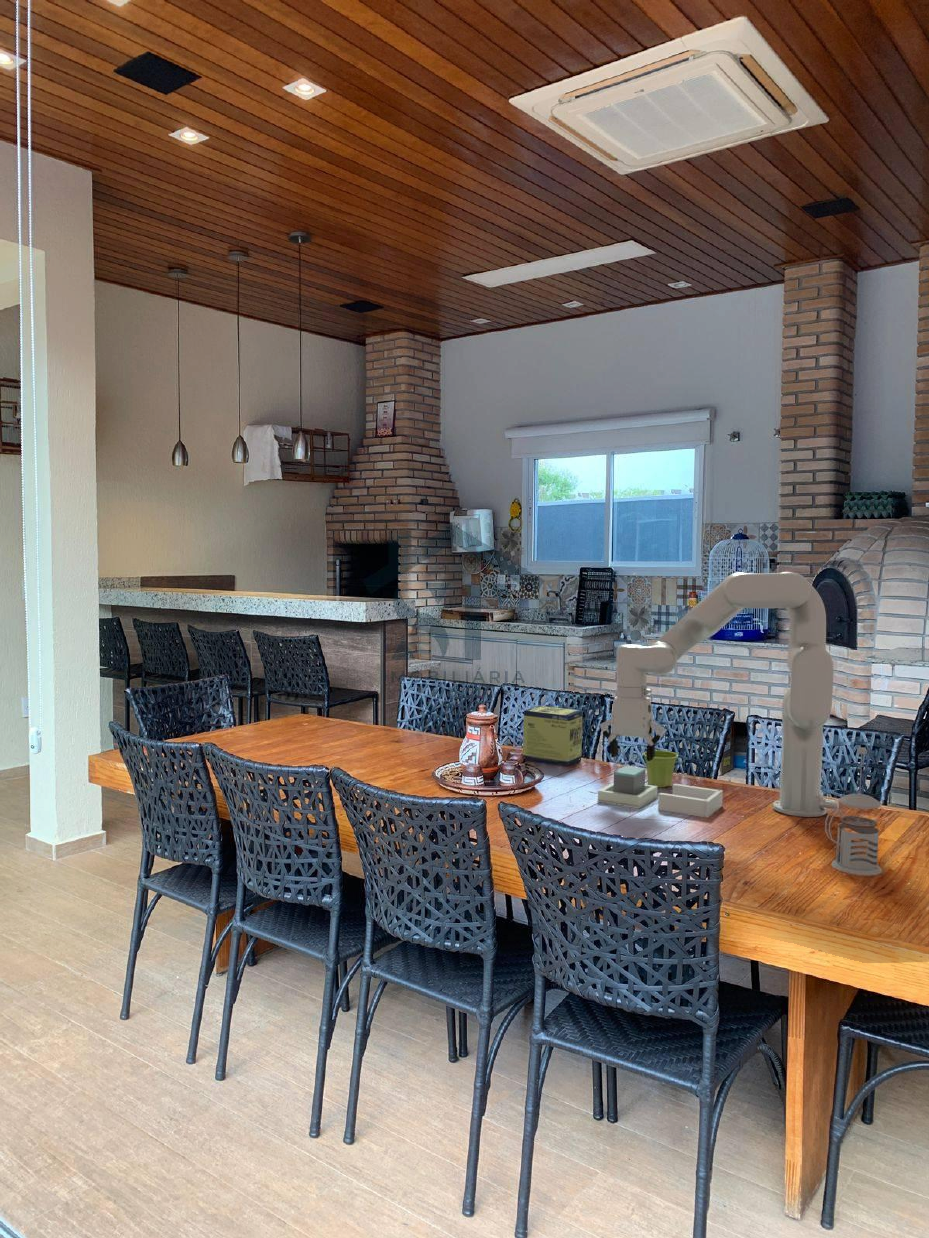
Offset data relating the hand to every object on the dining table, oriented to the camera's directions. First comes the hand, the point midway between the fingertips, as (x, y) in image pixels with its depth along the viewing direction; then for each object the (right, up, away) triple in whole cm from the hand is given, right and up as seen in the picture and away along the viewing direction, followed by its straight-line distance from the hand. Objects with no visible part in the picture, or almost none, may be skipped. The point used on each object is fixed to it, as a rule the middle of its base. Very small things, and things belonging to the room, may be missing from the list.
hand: (632, 758), depth 241 cm
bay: (+13, -12, -6) cm, 19 cm away
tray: (-1, -11, +1) cm, 11 cm away
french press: (+36, -15, -49) cm, 63 cm away
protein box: (-17, -8, +45) cm, 48 cm away
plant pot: (+10, -10, +16) cm, 22 cm away
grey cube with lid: (-1, -10, +1) cm, 10 cm away
